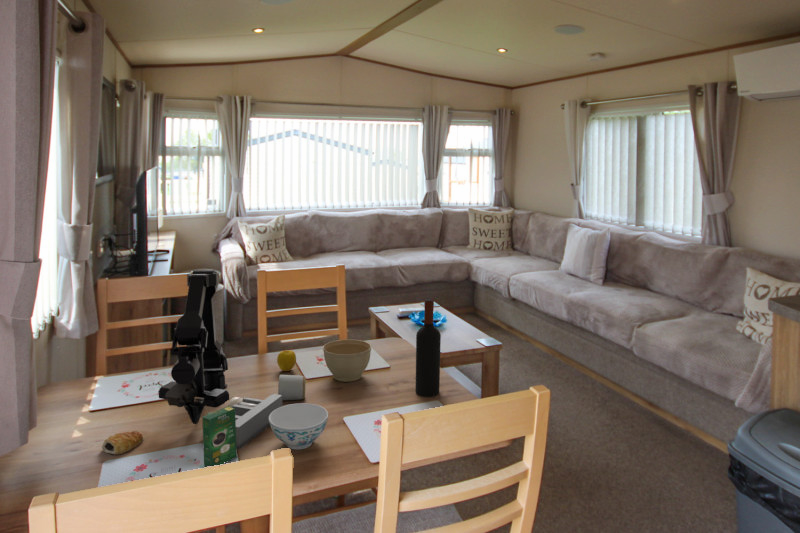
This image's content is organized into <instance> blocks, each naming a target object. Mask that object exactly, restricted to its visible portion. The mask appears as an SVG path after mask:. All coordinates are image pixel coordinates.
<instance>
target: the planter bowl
mask: <svg viewBox="0 0 800 533" xmlns="http://www.w3.org/2000/svg"><path fill="white" fill-rule="evenodd" d="M322 350H323V358H324V361H325V364H326V367H327V368H328V370H329V372H330V373H331V374H332V376H333V379H334V380H336V381H338V382H344V383H345V382H346V383H347V382H354V381H355V382H356V381H359V380H360V379H361V378H362V375H363V373H364V372H365V370H366V369H367V368H368V366H369V365H368V364H369V362H370V360H371V359H370V358H371V350H372V345H371V344H370V343H369V342H367V341H364V340H360V339H339V340H333V341H329V342H327V343H326V344H324V345H323V347H322Z"/></svg>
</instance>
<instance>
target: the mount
mask: <svg viewBox="0 0 800 533" xmlns="http://www.w3.org/2000/svg"><path fill="white" fill-rule="evenodd" d="M243 402H245V403H251V404H257V406H255V407H248V406H242V405H236V404H235V405H233V406H232V408H235V420H236V450H241V449H242V448H243V447H245V446H246V445H247V444H249V443H250V442H251V441H252V440H254V439H255V438H256V437H257V436H259V434H261V433H262V432H263V431H265V430H266V429H267V428H268V427H271V426H270V423H269V415H270V414H271V413H272V412H273V411H274V410H276V409H277V408H280V407H282V406H283V400H282V395H278V393H272V394H270V395H269V396H268V397H266V398H265V399H260V398H252V397H248V396H247V397H244V398H243Z"/></svg>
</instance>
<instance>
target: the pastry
mask: <svg viewBox="0 0 800 533" xmlns="http://www.w3.org/2000/svg"><path fill="white" fill-rule="evenodd" d="M143 441H144V437H143V434H142V433H141V432H140V431H138V430H136V431H135V430H133V431H127V432H126V431H125V432H120V433H115V434H114V435H110V436H109V437H108V438H106V439H104V441H103V443H102V445H101V449H102V451H104V453H105V454H112V455H115V456H116V455H123V454H125V453H126V452H128V451H131V450H133V449H134V448H136V447H137V446H139V445H140V444H142V442H143Z"/></svg>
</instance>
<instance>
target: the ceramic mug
mask: <svg viewBox="0 0 800 533" xmlns="http://www.w3.org/2000/svg"><path fill="white" fill-rule="evenodd" d="M306 380H307V379H306V377H305V376H303V375H298V374H297V375H293V374H279V376H278V388H277V395H282V401H298V400H303V399H305V398H306Z"/></svg>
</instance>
